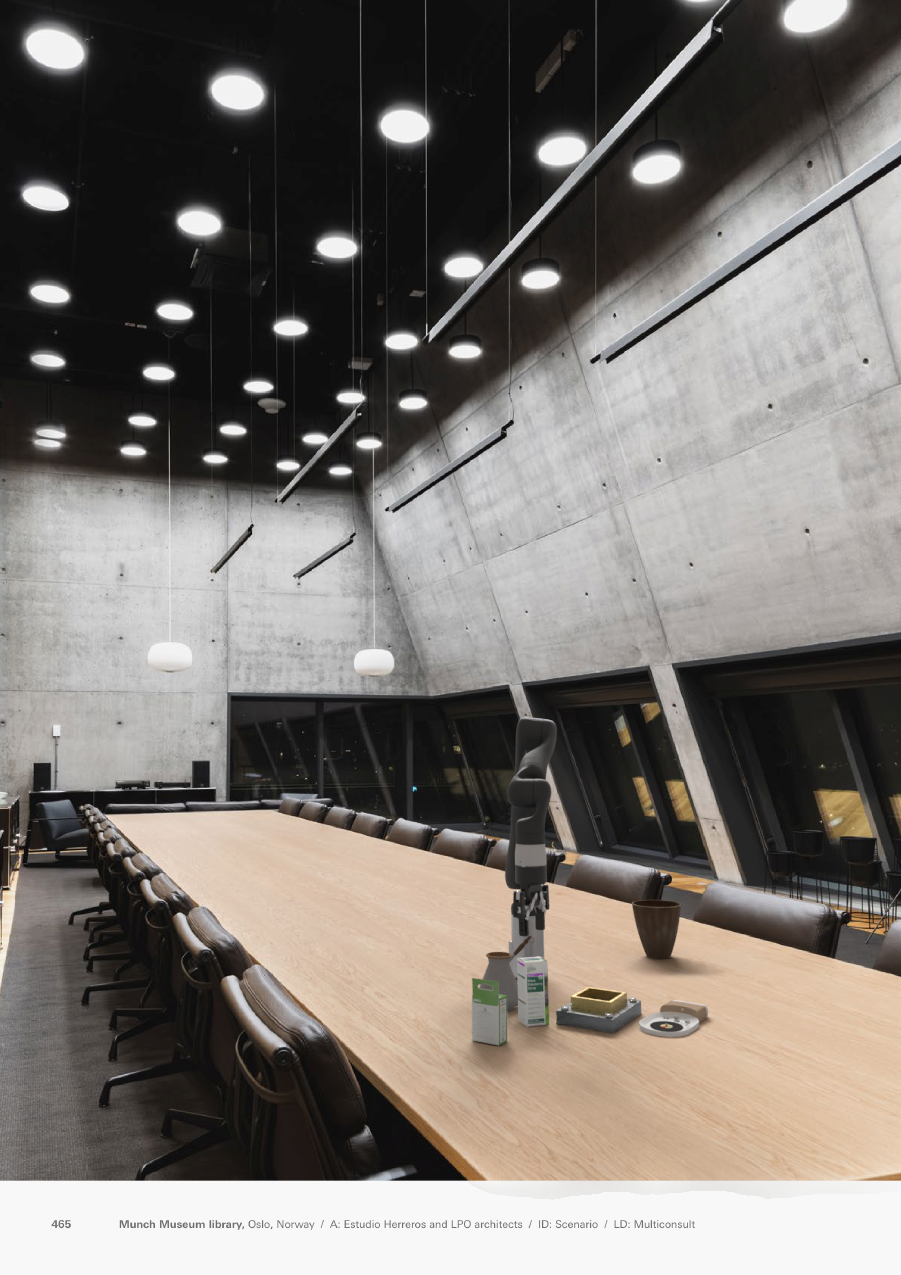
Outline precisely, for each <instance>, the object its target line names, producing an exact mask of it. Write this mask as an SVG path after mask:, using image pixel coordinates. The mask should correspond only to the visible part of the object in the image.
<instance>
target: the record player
mask: <svg viewBox="0 0 901 1275" xmlns="http://www.w3.org/2000/svg"><path fill="white" fill-rule="evenodd" d="M708 1016H709V1009H708V1006H707V1005H706V1004H701V1003H695V1002H690V1001H685V1000H684V1001H683V1000H678V999H670V1000H669V1001H668V1002H666V1003H664V1004H663V1005H661V1006H660V1009H659V1012H658V1011H657V1012H653V1013H650V1014H649V1015H647V1016H645V1017H643V1018H642V1019H640V1020H639V1022H638V1025H639V1026H638V1028H639V1030H640V1031H642V1032H643V1033H646V1034H648V1035H654V1036H658V1037H664V1038H665V1037H666V1038H675V1037H678V1038H679V1037H683V1036H687V1035H689V1034H691V1033H693V1032H695V1031H696V1030H697V1029H698V1028H700V1023H701V1022H703V1021H704V1020H706V1019H707V1018H708Z"/></svg>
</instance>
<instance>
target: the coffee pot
mask: <svg viewBox="0 0 901 1275" xmlns="http://www.w3.org/2000/svg"><path fill="white" fill-rule="evenodd" d="M531 938H533V937H531V936H528V937H527V939H524V942H523V943H521V944H520V945H519V946H518V948H517V949H516V950H515V952H514V953H513V954H512V955H511V954H510V953H509V952H506V951H493V952H492V951H490V952H487V953H486V954H485V956H486V957H487V959H488V964H487V966H486V970H485V971H484V973H483V974H484V975H483V976H482V979H483V980H491V981H498V982H499V994H501V995H507V1013H508V1012H512V1011H515V1010H516V1008H517V1007H518V980H516V979H517V978H515V976H514V974H513V972H512V969H511V967H510V964H509V963H510V962H511V960H512V959H513V958H514V957H515V956H516V955H517V954H518V953H519V952H520V951H521V950H522V949H523V948H524V946H525V945H526V944H527V943H528V941H529V940H530V939H531ZM533 939H534V938H533ZM529 942H530V941H529ZM534 942H535V940H534ZM534 942H530V943H534ZM478 988H481V989H488V990H493V987H492V986H490V985H487V984H480V985H479V986H478Z"/></svg>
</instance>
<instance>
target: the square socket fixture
mask: <svg viewBox="0 0 901 1275" xmlns="http://www.w3.org/2000/svg"><path fill="white" fill-rule="evenodd" d="M555 1013H556V1014H555V1015H556V1025H561V1026H566V1027H571V1028H572V1027H574V1028H579V1029H584V1030H589V1031H590V1030H591V1031H597V1032H600V1033H602V1032H603V1033H608V1034H613V1035H614V1034H615V1033H616V1032H618V1031H619V1030H620V1029H622V1028H623V1027H624V1026H626V1025H627V1024H629V1023H630V1022H631V1021H633V1020H635V1019H637V1017H639V1016H640V1015H641V1014H642V1001H641V1000H639V999H637V998H636V997H629V998H628V992H626V991H619V990H613V989H612V990H611V989H605V988H599V987H591V986H587V987H585V988H583V989H581V990H580V991H578V992H575V993H574V994H573V995H570V1002H568V1003H567V1004H565V1005H563V1006H560V1008H558V1009H556V1010H555Z"/></svg>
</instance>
